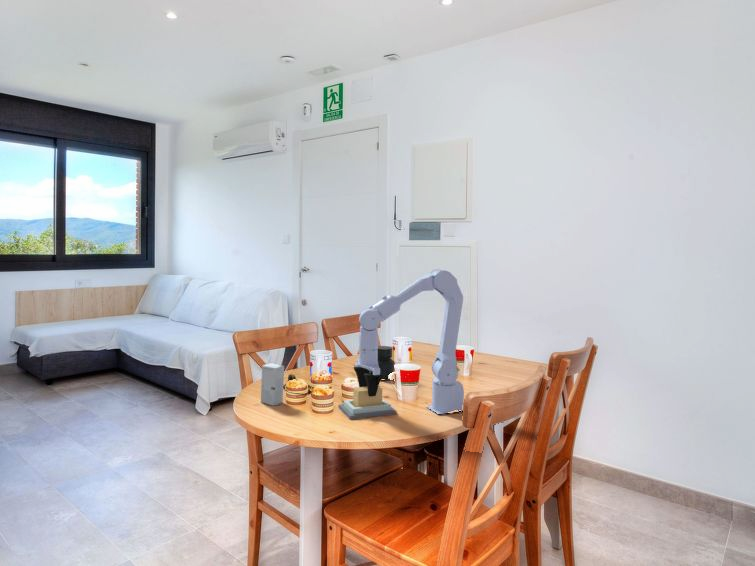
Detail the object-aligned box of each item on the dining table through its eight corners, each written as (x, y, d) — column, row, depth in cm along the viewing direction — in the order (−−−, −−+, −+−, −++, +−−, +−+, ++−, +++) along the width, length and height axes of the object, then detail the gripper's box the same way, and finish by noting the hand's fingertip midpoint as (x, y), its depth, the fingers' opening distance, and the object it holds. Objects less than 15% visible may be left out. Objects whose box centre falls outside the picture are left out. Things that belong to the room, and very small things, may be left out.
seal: (319, 395, 166) (298, 385, 178) (321, 382, 166) (300, 372, 178) (295, 397, 160) (275, 386, 172) (297, 383, 160) (277, 373, 172)
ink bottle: (399, 377, 187) (400, 347, 186) (386, 382, 180) (387, 351, 179) (379, 373, 193) (380, 344, 192) (366, 377, 186) (366, 347, 185)
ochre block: (353, 406, 148) (353, 387, 147) (376, 404, 151) (377, 385, 150) (357, 410, 144) (358, 391, 143) (381, 408, 147) (382, 389, 147)
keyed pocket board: (382, 403, 155) (382, 395, 155) (396, 413, 145) (396, 405, 145) (338, 407, 149) (338, 399, 149) (349, 419, 139) (350, 411, 139)
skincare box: (260, 402, 152) (260, 365, 152) (269, 399, 156) (270, 362, 156) (274, 406, 149) (275, 368, 149) (284, 402, 153) (284, 365, 153)
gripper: (348, 345, 151) (347, 387, 152) (364, 354, 138) (363, 400, 139) (369, 343, 154) (368, 385, 155) (387, 353, 140) (386, 398, 141)
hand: (367, 392), depth 147 cm, fingers open, 7 cm apart
